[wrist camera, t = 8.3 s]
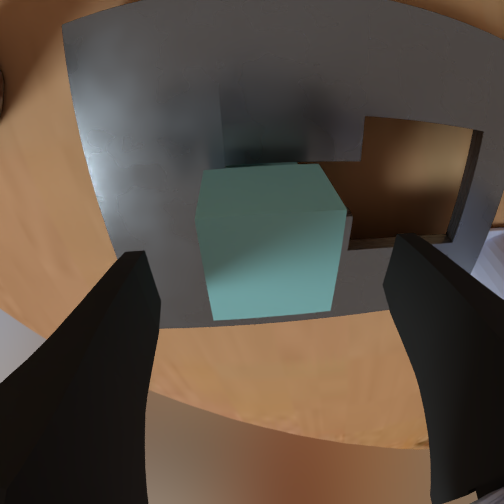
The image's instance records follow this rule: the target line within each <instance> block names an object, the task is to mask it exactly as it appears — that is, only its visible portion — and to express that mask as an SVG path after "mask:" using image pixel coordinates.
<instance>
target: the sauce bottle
mask: <svg viewBox="0 0 504 504" xmlns="http://www.w3.org/2000/svg"><path fill="white" fill-rule="evenodd" d="M3 90H4V81H3V75H2V72H1V70H0V116H1V111H2V104H3Z"/></svg>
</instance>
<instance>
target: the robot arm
mask: <svg viewBox="0 0 504 504" xmlns="http://www.w3.org/2000/svg"><path fill="white" fill-rule="evenodd" d="M382 285H383V289H384V292H385V296H386V300H387V303H388V306H389V310H390V313H391V315H392V318H393V320H394V323H395V325H396V328H397V330H398V332H399V335H400V337H401V340H402V342H403V344H404V347H405V349H406V352H407V354H408V357H409V359H410V362H411V364H412V367H413V370H414V372H415V375H416V378H417V382H418V385H419V389H420V393H421V398H422V402H423V407H424V412H425V417H426V423H427V430H428V437H429V448H430V459H431V491H430V496H431V501H432V504H443V503H446V502H449V501H452V500H455V499H458V498H460V497H463V496H466V495H468V494H470V493H472V492H474V491H476V493H477V497H478V500H476V501H474V502H472V503H471V504H504V228H490V230H489V233H488V235H487V238H486V240H485V243H484V245H483V248H482V250H481V252H480V255H479V257H478V259H477V261H476V264H475V266H474V268H473V270H472V272H471V274H469V273H468V272H467V271H465V270H464V269H463V268H462V267H460V266H459V265H458V264H457V263H455V262H454V261H453V260H451V259H450V258H449V257H448V256H446V255H445V254H444V253H442V252H441V251H440V250H438V249H437V248H436V247H434V246H433V245H432V244H430V243H429V242H427V241H426V240H424V239H423V238H421V237H420V236H418V235H417V234H415V233H404V234H397V235H396V239H395V243H394V247H393V250H392V254H391V257H390V261H389V264H388V268H387V271H386V275H385V278H384V281H383V284H382ZM160 313H161V299H160V296H159V293H158V290H157V287H156V284H155V281H154V278H153V275H152V272H151V269H150V265H149V262H148V259H147V256H146V252H145V250H142V251H128V252H124V253H123V254H122V255H121V256H120V258H119V259H118V260H117V261H116V262H115V263H114V264H113V265H112V266H111V268H110V269H109V270H108V271H107V272H106V273H105V274H104V276H103V277H102V278H101V279H100V280H99V282H98V283H97V284H96V285H95V286H94V287H93V288H92V290H91V291H90V292H89V293H88V294H87V295H86V297H85V298H84V299H83V300H82V301H81V303H80V304H79V305H78V306H77V307H76V308H75V309H74V310H73V311H72V313H71V314H70V315H69V316H68V317H67V318H66V319H65V320H64V322H63V323H62V324H61V325H60V326H59V327H58V328H57V330H56V331H55V332H54V333H53V334H52V335H51V336H50V337H49V338H48V339H47V340H46V341H45V342H44V343H43V344H42V345H41V346H40V347H39V348H38V349H37V350H36V351H35V352H34V353H33V354H32V355H31V356H30V357H29V358H28V359H27V360H26V361H25V362H24V363H23V364H22V365H20V366H19V367H18V368H17V369H16V370H15V371H14V372H12V373H11V374H10V375H9V376H8V377H7V378H6V379H5V380H4V381H3V382H1V383H0V504H148V497H147V486H146V473H145V411H146V402H147V394H148V389H149V383H150V378H151V372H152V367H153V361H154V356H155V351H156V345H157V340H158V335H159V326H160Z"/></svg>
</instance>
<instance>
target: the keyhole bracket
mask: <svg viewBox="0 0 504 504" xmlns="http://www.w3.org/2000/svg"><path fill="white" fill-rule="evenodd" d="M62 33H63V42H64V50H65V57H66V65H67V71H68V77H69V83H70V89H71V95H72V100H73V105H74V110H75V115H76V120H77V124H78V129H79V133H80V137H81V142H82V146H83V150H84V154H85V158H86V161H87V165H88V169H89V173H90V176H91V180H92V183H93V187H94V190H95V193H96V197H97V200H98V203H99V206H100V210H101V213H102V216H103V219H104V222H105V225H106V228H107V231H108V234H109V237H110V240H111V242H112V245H113V248H114V251H115V253H116V256H117V259H119V258H120V256H121V255H122V254H123V253H124V252H128V251H142V250H145V252H146V256H147V259H148V262H149V265H150V269H151V272H152V275H153V278H154V281H155V284H156V287H157V290H158V293H159V296H160V299H161V313H160V326H159V329H163V328H195V327H217V326H234V325H250V324H263V323H276V322H287V321H298V320H308V319H318V318H327V317H336V316H345V315H353V314H360V313H368V312H375V311H382V310H389V306H388V303H387V300H386V296H385V292H384V289H383V285H382V284H383V281H384V278H385V275H386V271H387V268H388V264H389V261H390V257H391V254H392V250H393V247H394V243H395V239H396V237H391V238H375V239H359V240H349V238H350V232H351V226H352V220H353V215H352V214H351V212H350V210H349V209H348V207H346V209H347V214H346V221H345V228H344V235H343V242H342V248H341V255H340V261H339V267H338V272H337V278H336V284H335V289H334V295H333V300H332V305H331V310H330V311H324V312H315V313H305V314H295V315H284V316H272V317H260V318H246V319H231V320H213V315H212V310H211V305H210V300H209V295H208V290H207V285H206V280H205V274H204V269H203V263H202V258H201V253H200V247H199V241H198V236H197V230H196V224H195V215H196V209H197V203H198V198H199V192H200V187H201V181H202V176H203V171H204V170H213V169H225V168H226V166H229V165H243V164H260V163H281V162H314V161H361V152H362V142H363V132H364V120H365V116H373V117H386V118H397V119H407V120H416V121H424V122H431V123H438V124H445V125H452V126H458V127H463V128H469V129H473V134H472V139H471V144H470V148H469V153H468V157H467V162H466V166H465V170H464V174H463V178H462V182H461V186H460V189H459V193H458V197H457V200H456V203H455V207H454V210H453V213H452V217H451V220H450V223H449V226H448V229H447V232H446V234H439V235H423V236H420V237H421V238H423V239H424V240H426V241H427V242H429V243H430V244H432V245H433V246H434V247H436V248H437V249H438V250H440V251H441V252H442V253H444V254H445V255H446V256H448V257H449V258H450V259H451V260H453V261H454V262H455V263H457V264H458V265H459V266H460V267H462V268H463V269H464V270H465V271H467V272H468V273H469V274H471V272H472V270H473V268H474V266H475V264H476V261H477V259H478V257H479V255H480V252H481V250H482V248H483V245H484V243H485V240H486V238H487V235H488V233H489V230H490V228H491V225H492V222H493V220H494V217H495V214H496V211H497V209H498V206H499V203H500V200H501V197H502V194H503V191H504V40H503V39H501V38H499V37H497V36H494V35H492V34H490V33H488V32H485V31H483V30H481V29H478V28H476V27H474V26H471V25H469V24H466V23H463V22H461V21H458V20H455V19H453V18H450V17H447V16H444V15H441V14H438V13H435V12H432V11H428V10H425V9H422V8H418V7H414V6H411V5H407V4H403V3H399V2H395V1H390V0H142V1H138V2H133V3H129V4H125V5H121V6H118V7H114V8H110V9H107V10H104V11H100V12H97V13H94V14H91V15H88V16H85V17H82V18H79V19H76V20H73V21H70V22H68V23H65V24H63V25H62Z"/></svg>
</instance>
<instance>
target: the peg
mask: <svg viewBox="0 0 504 504" xmlns="http://www.w3.org/2000/svg"><path fill="white" fill-rule="evenodd" d="M346 214H347V209H346V207H345V205H344V204H343V202H342V200H341V199H340V197H339V195H338V194H337V192H336V190H335V189H334V187H333V186H332V184H331V182H330V181H329V179H328V178H327V176H326V174H325V173H324V171H323V170H322V168H321V167H320V165H319V164H297V162H281V163H260V164H243V165H229V166H226V168H225V169H213V170H204V171H203V176H202V181H201V187H200V192H199V198H198V203H197V209H196V215H195V224H196V230H197V236H198V241H199V247H200V253H201V258H202V263H203V269H204V274H205V280H206V285H207V290H208V295H209V300H210V305H211V310H212V315H213V320H231V319H246V318H260V317H272V316H284V315H295V314H305V313H315V312H324V311H330V310H331V305H332V300H333V295H334V289H335V284H336V278H337V272H338V267H339V261H340V255H341V248H342V242H343V235H344V228H345V221H346Z"/></svg>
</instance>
